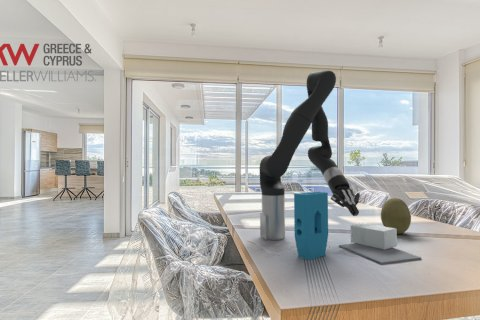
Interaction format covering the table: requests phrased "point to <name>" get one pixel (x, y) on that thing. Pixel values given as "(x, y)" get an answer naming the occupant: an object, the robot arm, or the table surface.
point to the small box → (374, 235)
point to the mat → (380, 254)
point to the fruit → (396, 215)
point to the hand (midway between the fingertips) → (356, 214)
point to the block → (311, 224)
